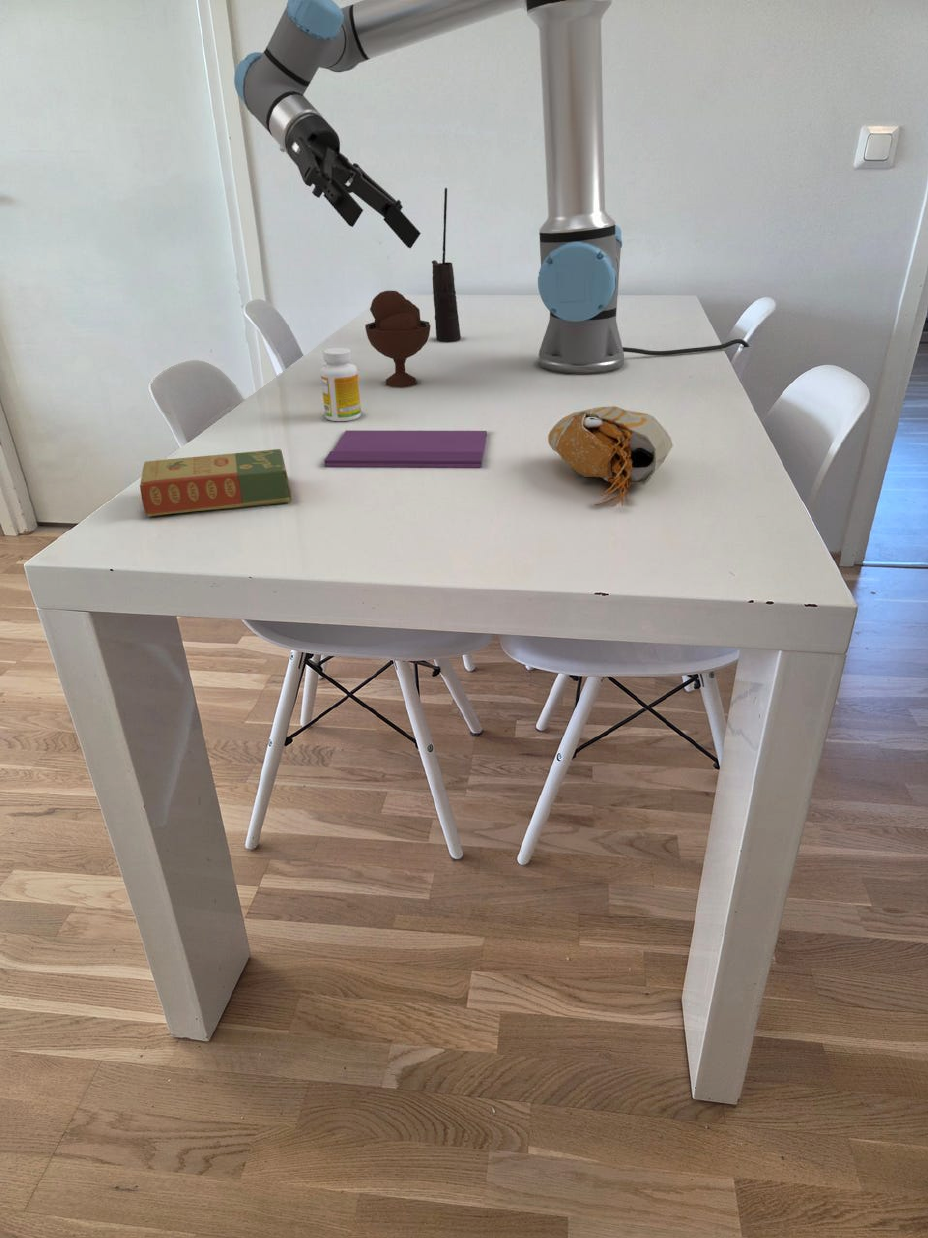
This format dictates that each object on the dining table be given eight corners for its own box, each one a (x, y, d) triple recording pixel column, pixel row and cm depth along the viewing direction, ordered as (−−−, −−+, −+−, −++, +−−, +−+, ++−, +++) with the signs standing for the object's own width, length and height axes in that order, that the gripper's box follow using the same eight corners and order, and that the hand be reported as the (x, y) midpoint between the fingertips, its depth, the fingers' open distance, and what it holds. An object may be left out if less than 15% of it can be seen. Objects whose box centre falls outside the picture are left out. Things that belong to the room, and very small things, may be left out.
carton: (150, 493, 100) (143, 458, 98) (286, 479, 103) (282, 445, 101) (146, 519, 93) (138, 482, 91) (292, 502, 96) (287, 467, 94)
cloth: (486, 433, 118) (486, 427, 117) (481, 467, 106) (481, 461, 105) (346, 433, 119) (345, 427, 119) (324, 466, 107) (324, 460, 107)
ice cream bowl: (425, 392, 138) (421, 295, 130) (360, 389, 140) (352, 294, 132) (439, 376, 147) (436, 284, 139) (378, 374, 149) (372, 284, 141)
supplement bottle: (367, 413, 128) (362, 347, 123) (351, 423, 123) (345, 355, 118) (335, 410, 129) (328, 345, 124) (318, 420, 125) (311, 353, 120)
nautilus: (667, 525, 90) (528, 521, 94) (673, 450, 107) (556, 449, 111) (670, 456, 86) (525, 454, 89) (676, 388, 103) (555, 390, 107)
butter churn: (414, 337, 176) (407, 187, 162) (455, 332, 179) (452, 185, 165) (431, 345, 169) (425, 188, 155) (474, 340, 172) (472, 186, 158)
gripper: (346, 182, 138) (421, 268, 133) (231, 132, 118) (314, 231, 112) (371, 141, 135) (449, 227, 129) (256, 81, 114) (343, 181, 109)
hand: (386, 229), depth 121 cm, fingers open, 13 cm apart
